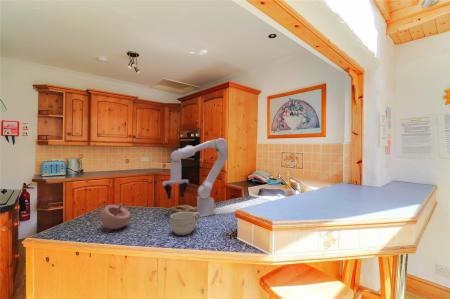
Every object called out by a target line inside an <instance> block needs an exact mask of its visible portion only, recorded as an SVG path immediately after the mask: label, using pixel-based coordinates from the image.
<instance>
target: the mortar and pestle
mask: <svg viewBox="0 0 450 299" xmlns="http://www.w3.org/2000/svg"><path fill="white" fill-rule="evenodd" d="M131 216H132V215H131V211H129V210H128V209H126V208H125V207H123V204H122V203H121V202H120V203H118V205H117V204H107V205H106V206H105V207H104V208H103V209H102V211H101V214H100V221H101V224H102V225H103V226H104V227H105V228H107V229H109V230H119V229H121V228H123V227H124V226H126V224H128V222H129V221H130V219H131Z"/></svg>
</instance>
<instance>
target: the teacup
mask: <svg viewBox="0 0 450 299" xmlns="http://www.w3.org/2000/svg"><path fill="white" fill-rule="evenodd" d="M197 214H198V215H197ZM195 216H196V221H195ZM169 217H170V228H171V231H172V232H173V233H174V234H176V236H177V235H178V236H186V235H189V234H191V233H192V232H193V231H194V229H195V228H196V224H197V223H199V221H200V220H201V218H202V217H201V215H200V213H199V212H197V211H196V212H195V213H193V212H178V213H174V214H172V215H171V214H170V216H169Z"/></svg>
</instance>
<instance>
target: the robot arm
mask: <svg viewBox="0 0 450 299" xmlns="http://www.w3.org/2000/svg"><path fill="white" fill-rule="evenodd" d="M208 148H211V149H215V150H216V153H217V159H216V160H215V162H214V163H213V165H212V168H211V169H210V171H209V173H208V175H207V177H206V179H205V180H204V181H203V182H202V184H201V185H200V186H199V187H198V188H197V194H198V196H197V197H196V212H199V213H200V215H201V217H200V218H205V217H208V216H212V215H215V214H216V212H215V199H214V198H213V197H212V196H211V191H212V189H213V185H214V183H215V181H216V180H217V177H218V175H219V174H220V172H221V170H222V169H223V167H224V165H225V163H226V161H227V160H228V157H229V151H228V148H229V144H228V142H227V140H226V139H225V138H222V137H220V138H216V139H211V140H208V141H205V142H203V143H200V144H198V145H197V144H196V145H195V146H193V145H191V144H190V145H189V144H188V145H186V146H185V147H183V148H182V147H181V148H177V150H174V151H172V152H171V153H170V159H171V160H170V180H165V181H162V186H163V188H164V191H165V192H166V196H167V199H169V200H171V197H172V188H173V187H172V185H173V186H174V185H179V188H180V189H179V190H180V193H179V194H180V197H182V198H183V197H184V196H185V191H186V189H187V188H188V186H189V185H188V184H189V179H186V178H185V179H182V159H183V160H185V159H187V158H190V157H192V156H195V154H196V152H199V151H202V150H205V149H208ZM196 216H198V214H197V215H196Z"/></svg>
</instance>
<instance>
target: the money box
mask: <svg viewBox="0 0 450 299" xmlns="http://www.w3.org/2000/svg"><path fill="white" fill-rule="evenodd" d="M178 209H182V210H181V211H180V210H178ZM178 212H193V213H195V212H197V207H194V206H192V205H188V204H186V203H185V204H182V205H176V206H171V207H170V216H171V215H172V214H174V213H178ZM196 220H197V215H196V216H195V221H196Z"/></svg>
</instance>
